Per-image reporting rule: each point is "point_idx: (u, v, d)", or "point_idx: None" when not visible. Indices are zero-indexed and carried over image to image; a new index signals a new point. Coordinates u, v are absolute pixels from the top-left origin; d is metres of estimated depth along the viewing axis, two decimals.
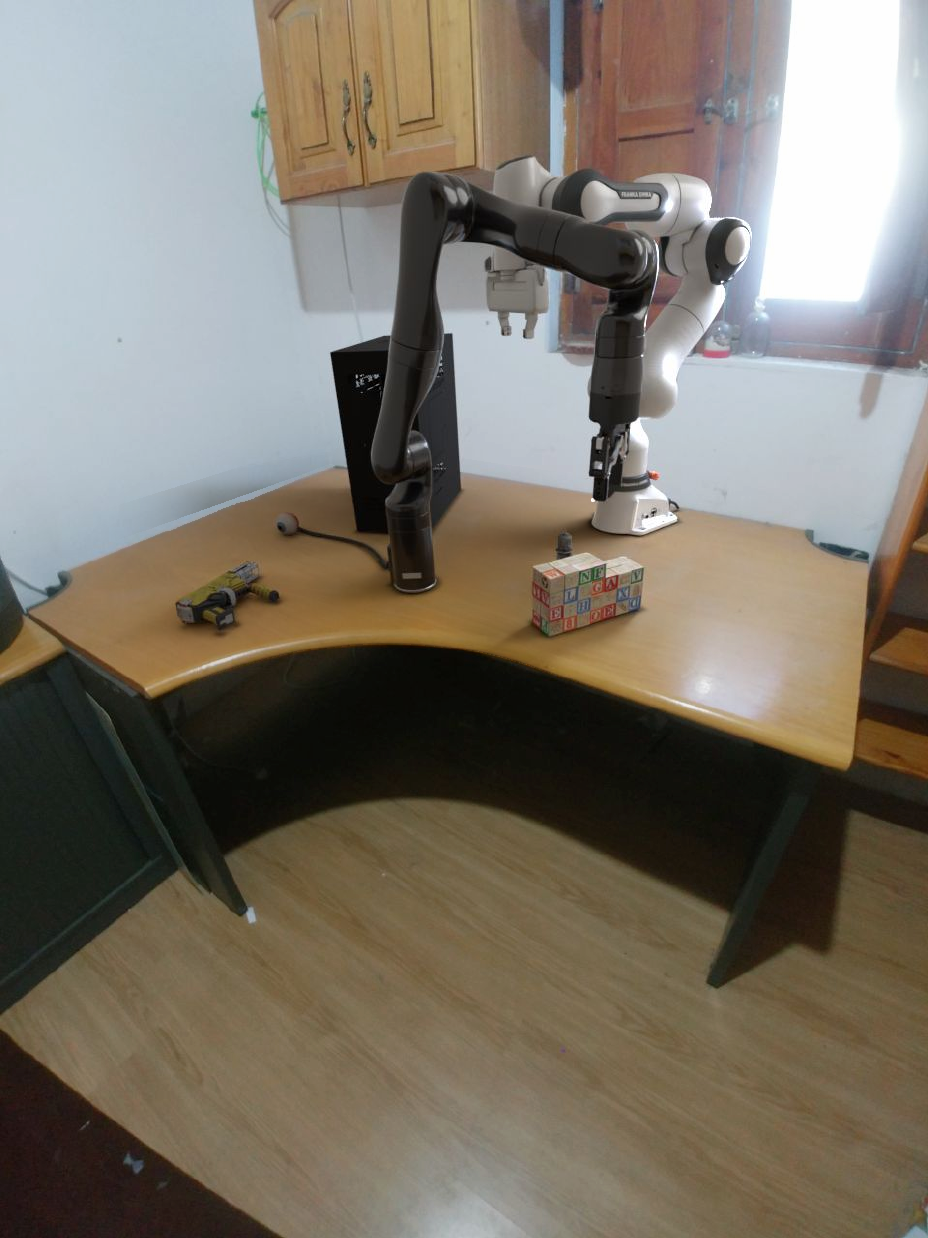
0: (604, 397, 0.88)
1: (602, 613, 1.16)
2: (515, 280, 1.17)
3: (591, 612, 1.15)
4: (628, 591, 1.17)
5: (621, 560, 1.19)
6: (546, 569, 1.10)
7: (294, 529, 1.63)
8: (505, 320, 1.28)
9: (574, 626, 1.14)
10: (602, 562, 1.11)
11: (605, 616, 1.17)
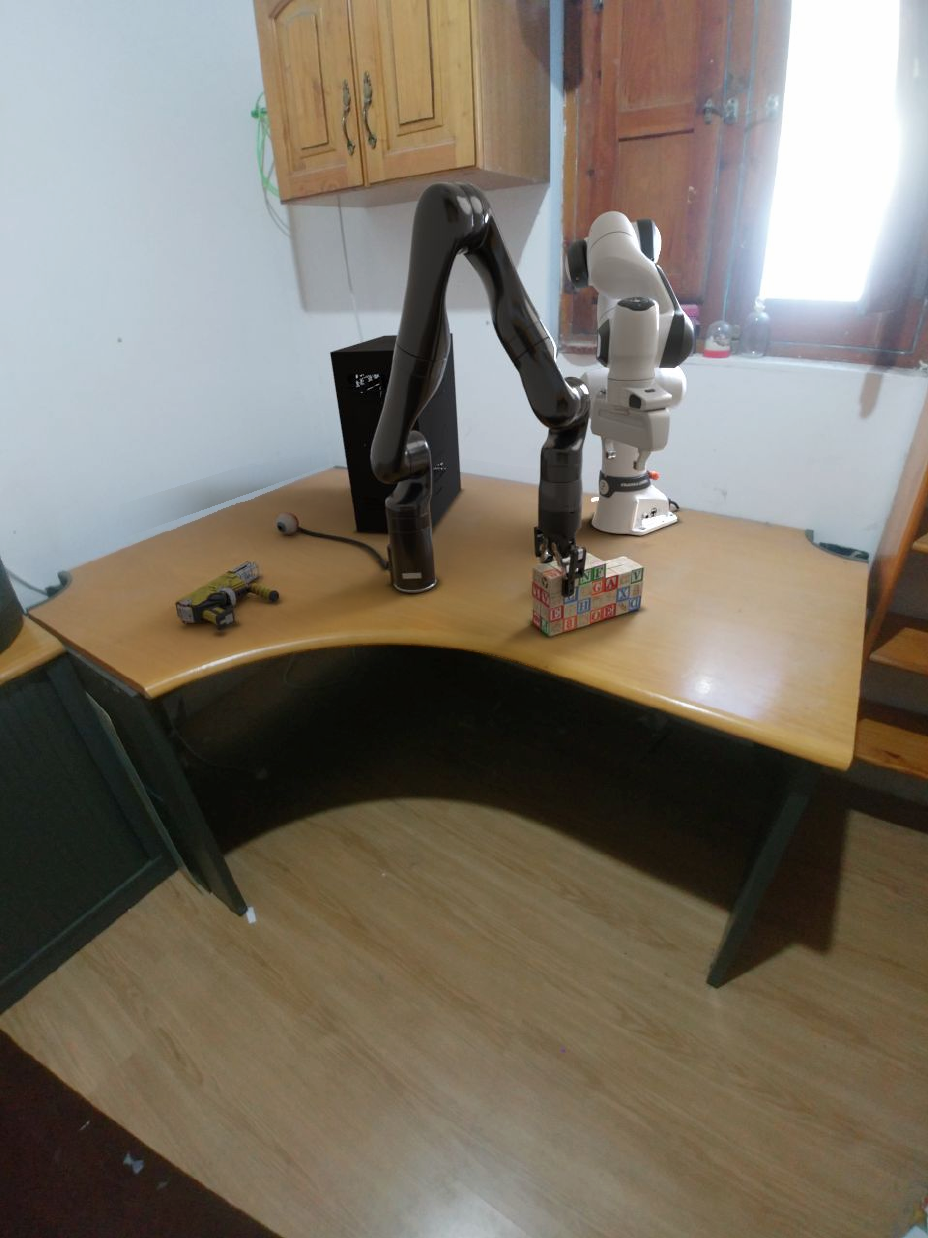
0: (568, 513, 1.01)
1: (602, 613, 1.16)
2: None
3: (591, 612, 1.15)
4: (628, 591, 1.17)
5: (621, 560, 1.19)
6: (546, 569, 1.10)
7: (294, 529, 1.63)
8: None
9: (574, 626, 1.14)
10: (602, 562, 1.11)
11: (605, 616, 1.17)
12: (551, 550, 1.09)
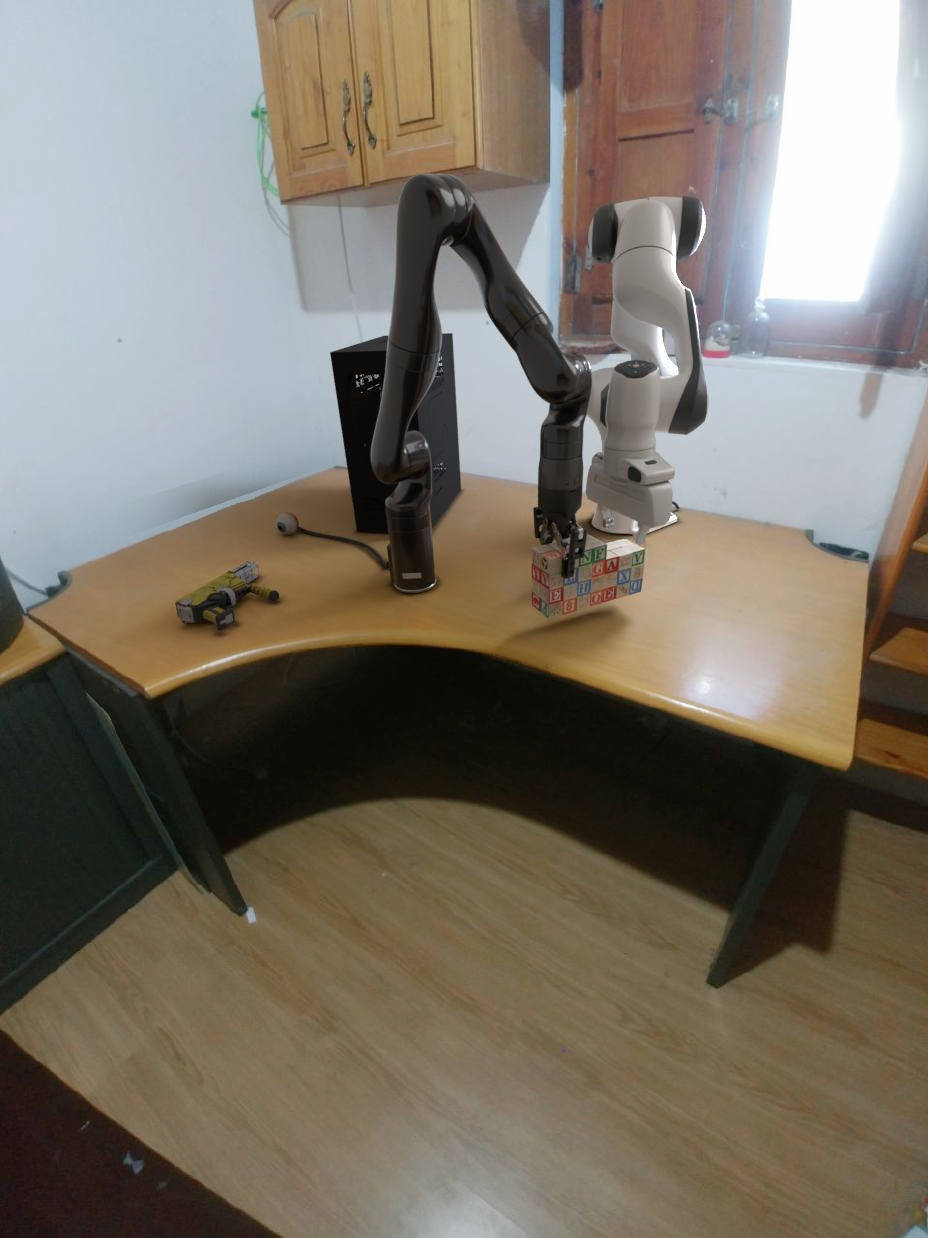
0: (569, 491, 0.99)
1: (603, 596, 1.14)
2: None
3: (591, 594, 1.13)
4: (629, 574, 1.15)
5: (621, 542, 1.17)
6: (545, 550, 1.08)
7: (294, 529, 1.63)
8: None
9: (574, 609, 1.13)
10: (603, 543, 1.09)
11: (606, 598, 1.15)
12: (551, 530, 1.07)
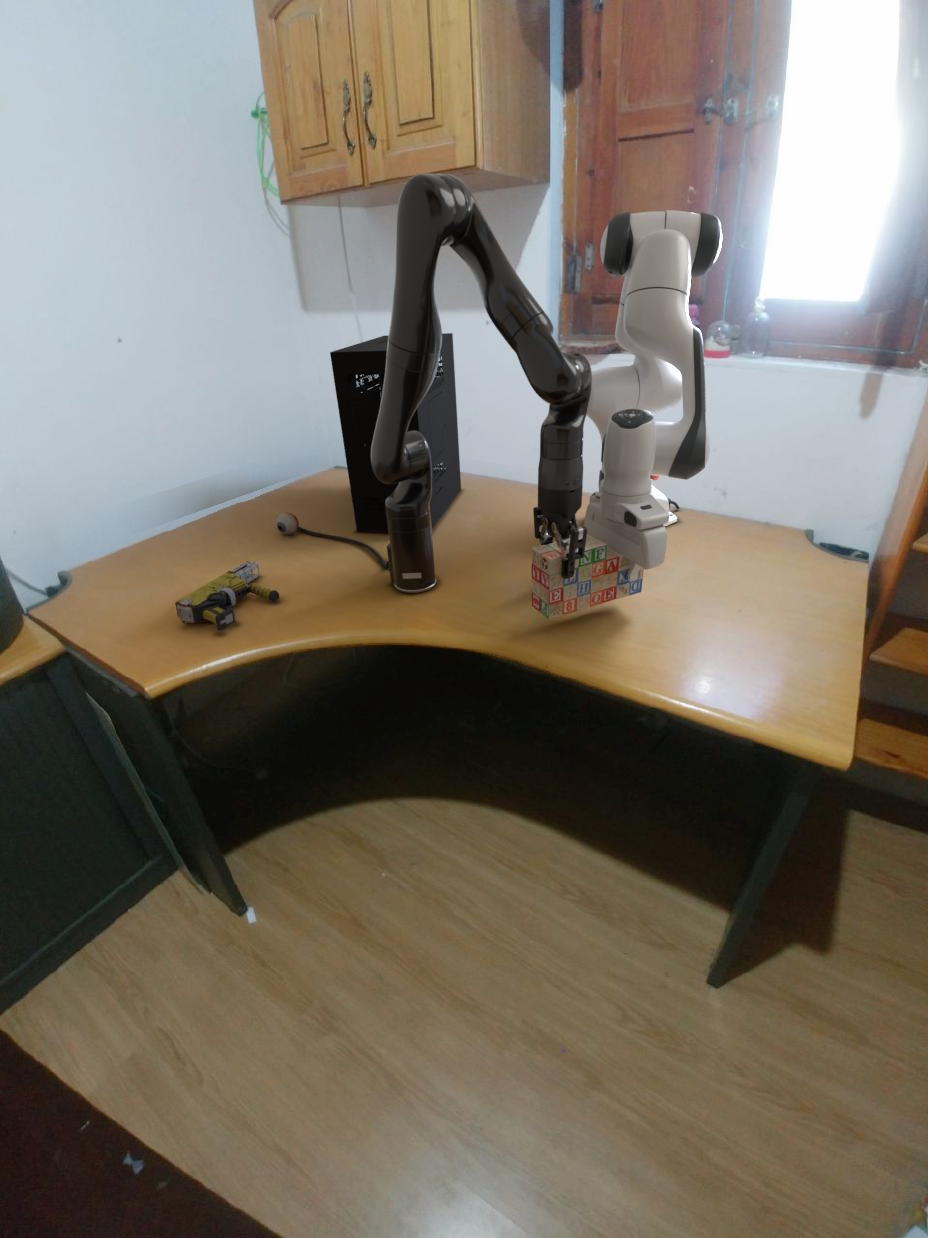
0: (569, 492, 0.99)
1: (603, 596, 1.14)
2: None
3: (591, 595, 1.13)
4: None
5: None
6: (545, 550, 1.08)
7: (294, 529, 1.63)
8: None
9: (574, 609, 1.13)
10: (603, 543, 1.09)
11: (606, 599, 1.15)
12: (551, 531, 1.07)
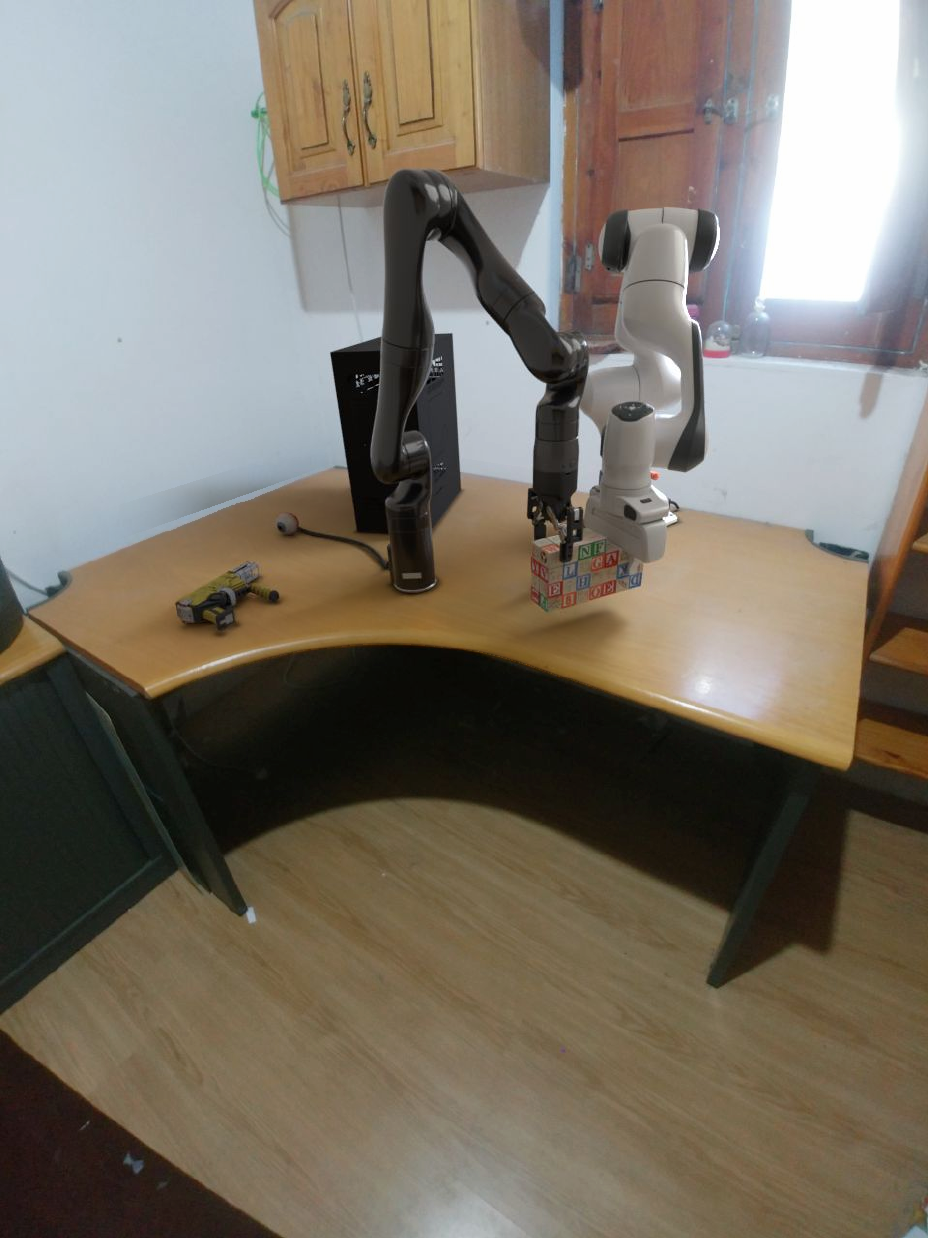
0: (564, 474, 0.98)
1: (602, 590, 1.14)
2: None
3: (591, 588, 1.13)
4: None
5: None
6: (545, 543, 1.08)
7: (294, 529, 1.63)
8: None
9: (573, 603, 1.12)
10: (602, 537, 1.09)
11: (605, 593, 1.15)
12: (546, 514, 1.05)
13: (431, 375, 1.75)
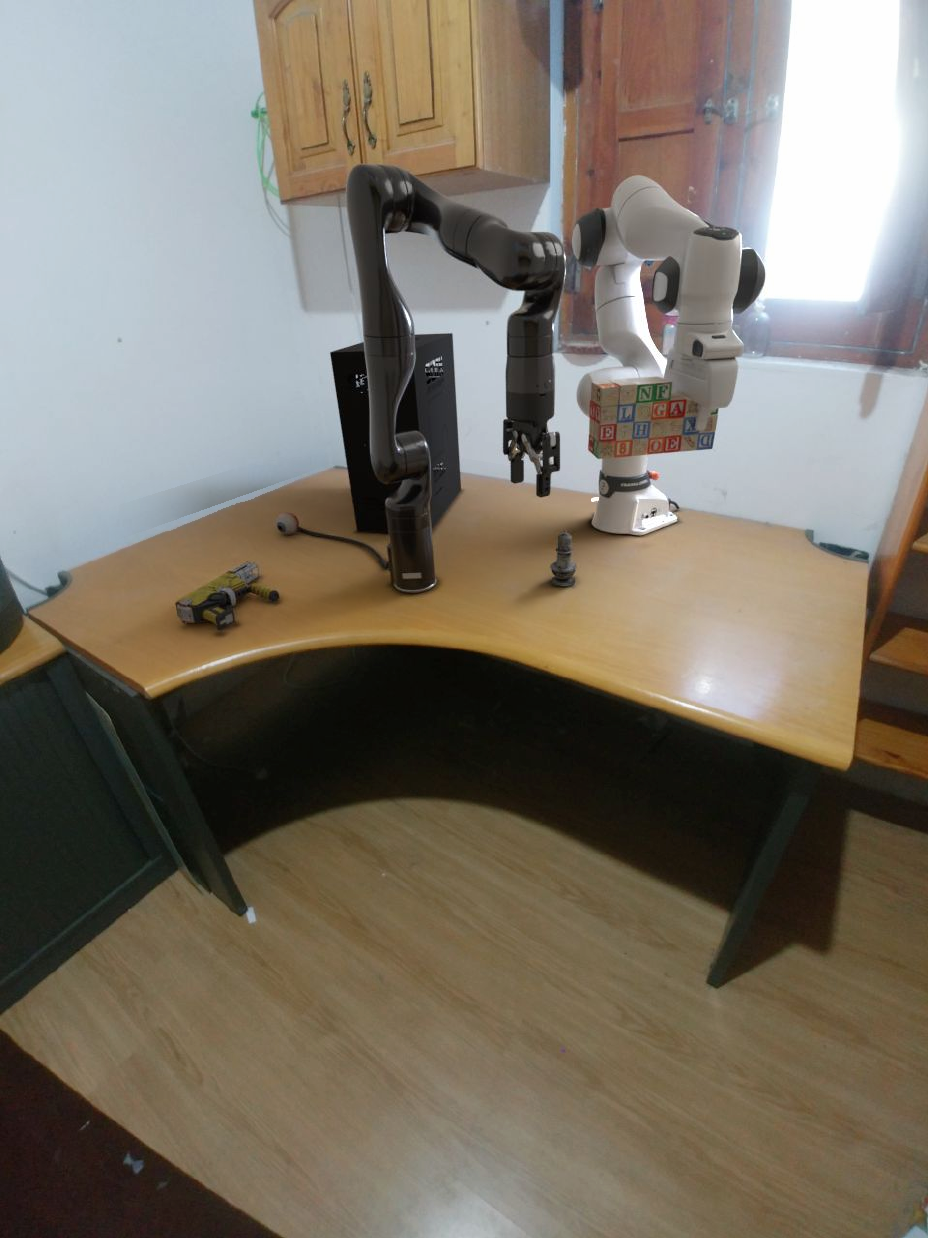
0: (539, 395, 0.90)
1: (664, 445, 1.07)
2: None
3: (650, 440, 1.07)
4: None
5: None
6: (603, 383, 1.04)
7: (294, 529, 1.63)
8: None
9: (628, 453, 1.07)
10: (668, 381, 1.02)
11: (668, 449, 1.08)
12: (521, 445, 0.97)
13: (431, 375, 1.75)
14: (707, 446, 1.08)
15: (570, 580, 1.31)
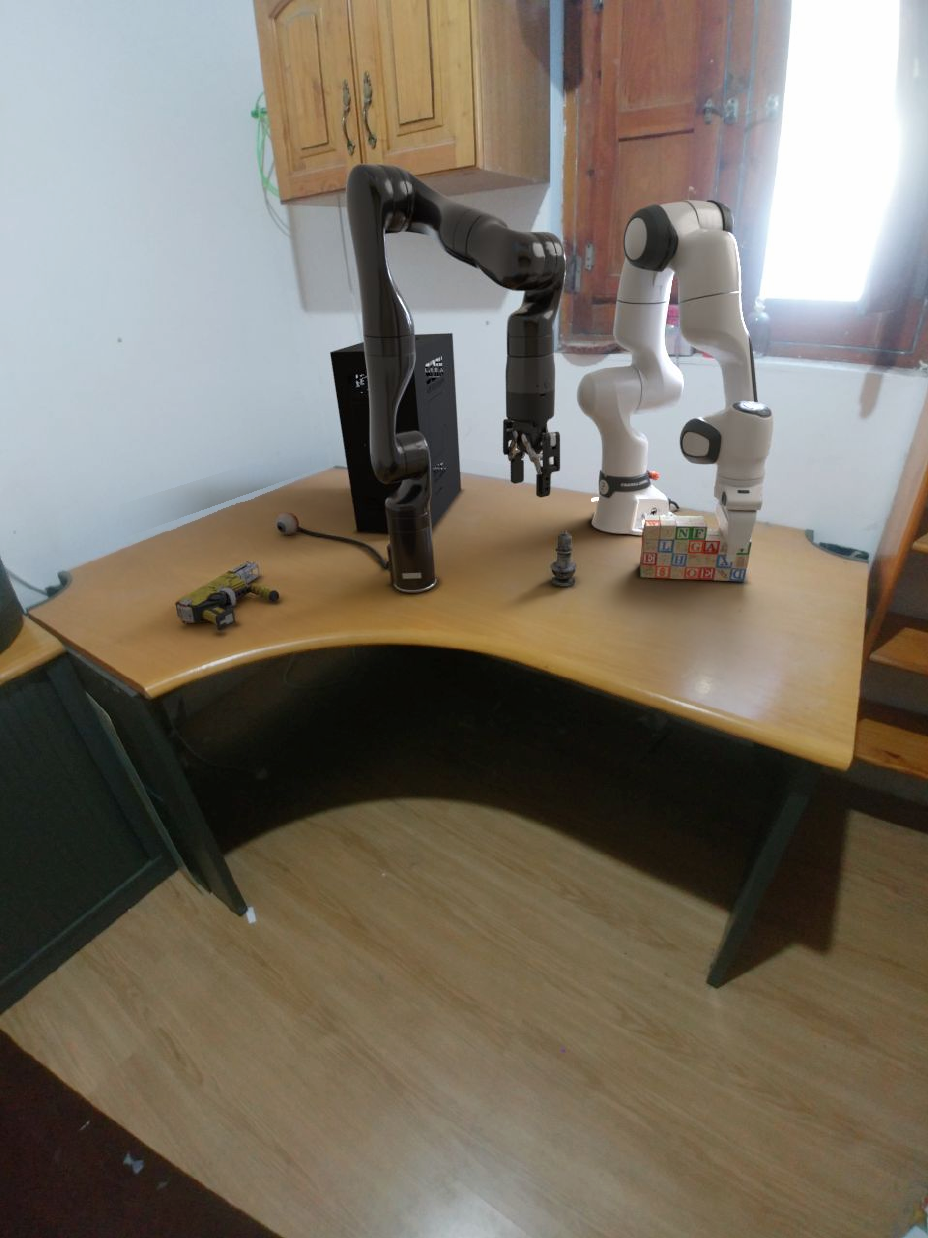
0: (539, 395, 0.90)
1: (699, 573, 1.29)
2: None
3: (687, 568, 1.29)
4: None
5: None
6: (652, 519, 1.29)
7: (294, 529, 1.63)
8: None
9: (667, 576, 1.31)
10: (704, 525, 1.24)
11: (702, 576, 1.29)
12: (521, 445, 0.97)
13: (431, 375, 1.75)
14: (739, 579, 1.27)
15: (570, 580, 1.31)
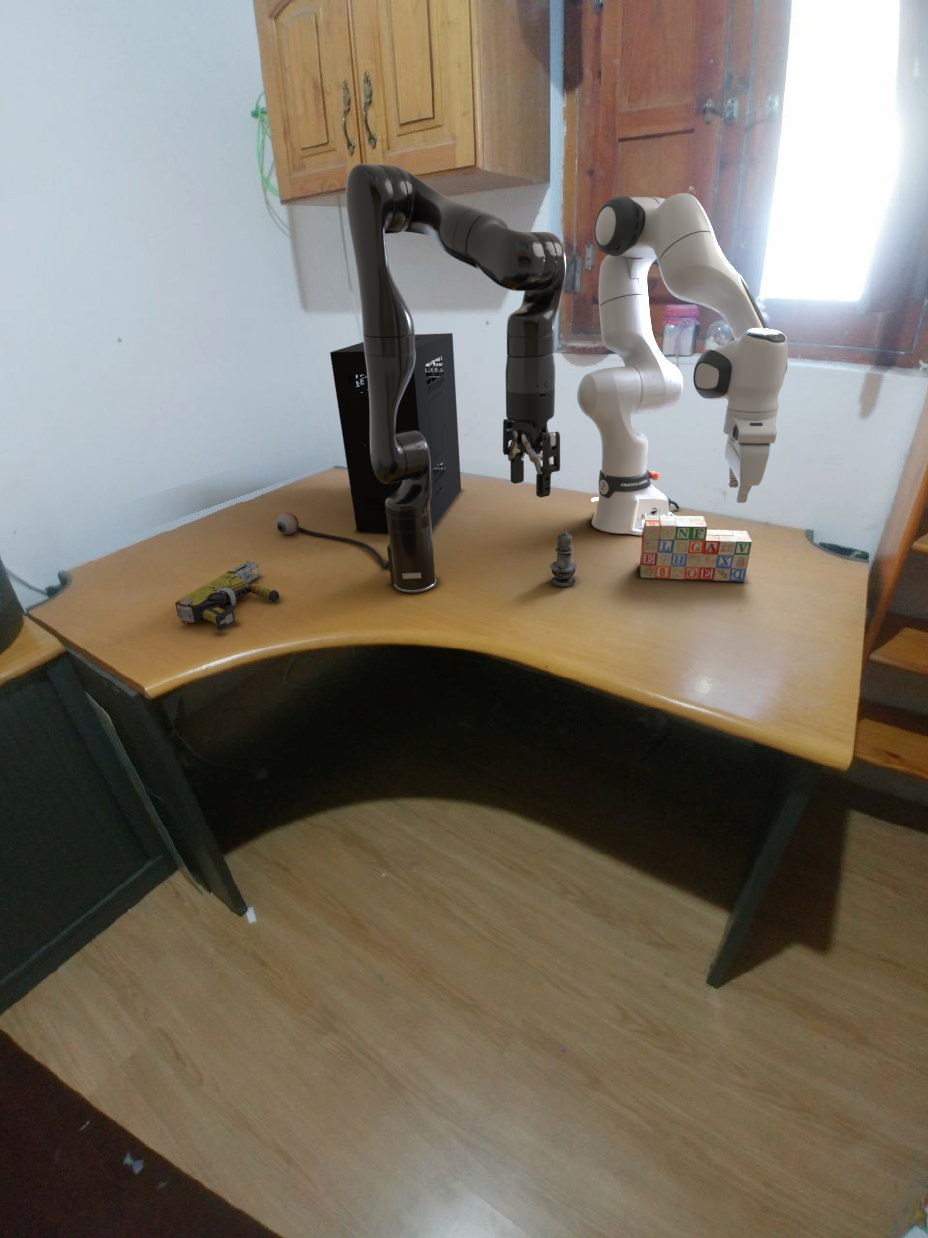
0: (539, 395, 0.90)
1: (699, 573, 1.29)
2: None
3: (687, 568, 1.29)
4: (731, 561, 1.26)
5: (738, 532, 1.27)
6: (652, 519, 1.29)
7: (294, 529, 1.63)
8: None
9: (667, 576, 1.31)
10: (704, 525, 1.24)
11: (702, 577, 1.29)
12: (521, 445, 0.97)
13: (431, 375, 1.75)
14: (739, 579, 1.27)
15: (570, 580, 1.31)
